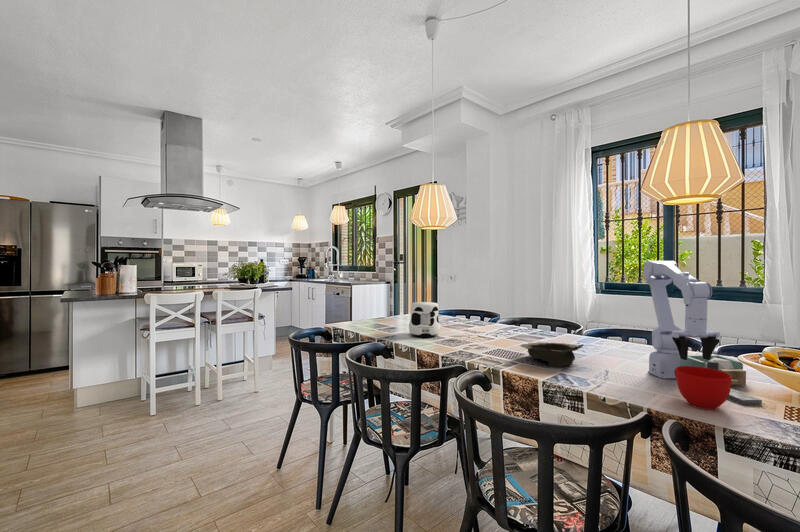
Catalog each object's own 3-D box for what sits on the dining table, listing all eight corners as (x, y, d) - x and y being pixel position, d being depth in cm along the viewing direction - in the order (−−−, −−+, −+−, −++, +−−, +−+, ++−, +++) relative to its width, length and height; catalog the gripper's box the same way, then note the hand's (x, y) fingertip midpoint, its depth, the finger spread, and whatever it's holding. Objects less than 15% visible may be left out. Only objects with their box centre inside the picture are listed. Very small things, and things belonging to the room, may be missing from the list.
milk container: (424, 331, 225) (425, 301, 225) (446, 336, 212) (446, 303, 212) (402, 335, 214) (402, 303, 214) (423, 340, 201) (423, 306, 201)
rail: (741, 404, 114) (742, 399, 114) (693, 384, 132) (693, 380, 132) (761, 404, 114) (761, 400, 114) (710, 384, 132) (710, 380, 132)
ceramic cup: (694, 393, 124) (695, 362, 124) (743, 414, 107) (744, 379, 107) (656, 393, 123) (656, 362, 123) (698, 414, 107) (699, 379, 106)
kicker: (713, 390, 125) (713, 364, 125) (696, 383, 132) (696, 358, 132) (759, 390, 125) (760, 364, 125) (740, 383, 132) (741, 359, 132)
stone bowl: (575, 373, 143) (574, 349, 143) (511, 367, 158) (510, 344, 159) (589, 359, 163) (587, 337, 163) (531, 354, 178) (529, 334, 178)
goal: (700, 381, 135) (701, 362, 135) (679, 373, 145) (680, 354, 145) (742, 381, 136) (742, 362, 136) (718, 373, 146) (719, 355, 146)
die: (711, 385, 134) (734, 366, 130) (692, 367, 141) (713, 349, 137) (725, 390, 137) (747, 372, 133) (705, 372, 144) (726, 355, 140)
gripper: (683, 320, 122) (682, 362, 122) (728, 320, 122) (727, 362, 122) (667, 316, 129) (666, 356, 129) (709, 317, 129) (709, 356, 129)
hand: (694, 359), depth 126 cm, fingers open, 7 cm apart
